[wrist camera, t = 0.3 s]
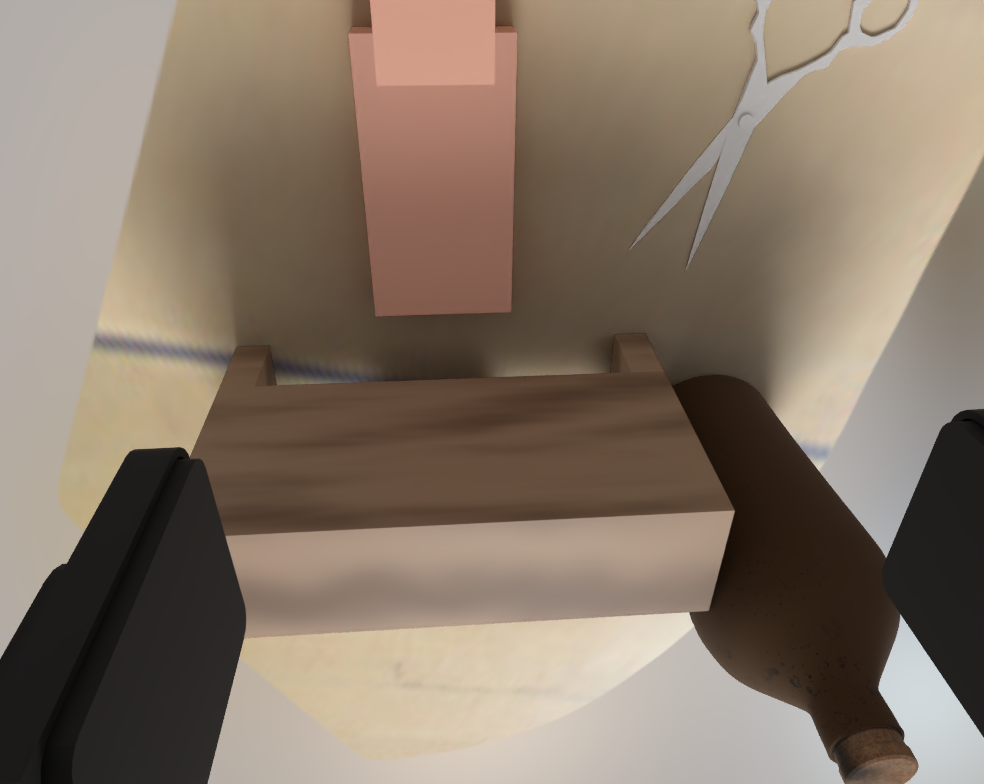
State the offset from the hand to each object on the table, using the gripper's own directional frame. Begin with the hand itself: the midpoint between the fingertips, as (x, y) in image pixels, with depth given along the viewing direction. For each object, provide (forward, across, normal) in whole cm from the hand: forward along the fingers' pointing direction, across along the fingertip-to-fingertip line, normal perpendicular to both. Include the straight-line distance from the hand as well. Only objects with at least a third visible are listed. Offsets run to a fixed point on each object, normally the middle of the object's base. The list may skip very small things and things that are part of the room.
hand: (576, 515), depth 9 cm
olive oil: (+34, -16, +24) cm, 45 cm away
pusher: (+34, +2, +4) cm, 34 cm away
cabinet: (+34, +2, +20) cm, 39 cm away
